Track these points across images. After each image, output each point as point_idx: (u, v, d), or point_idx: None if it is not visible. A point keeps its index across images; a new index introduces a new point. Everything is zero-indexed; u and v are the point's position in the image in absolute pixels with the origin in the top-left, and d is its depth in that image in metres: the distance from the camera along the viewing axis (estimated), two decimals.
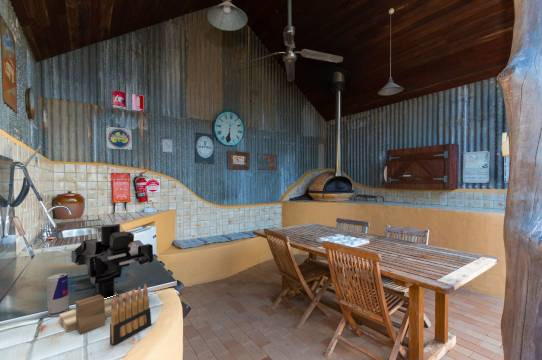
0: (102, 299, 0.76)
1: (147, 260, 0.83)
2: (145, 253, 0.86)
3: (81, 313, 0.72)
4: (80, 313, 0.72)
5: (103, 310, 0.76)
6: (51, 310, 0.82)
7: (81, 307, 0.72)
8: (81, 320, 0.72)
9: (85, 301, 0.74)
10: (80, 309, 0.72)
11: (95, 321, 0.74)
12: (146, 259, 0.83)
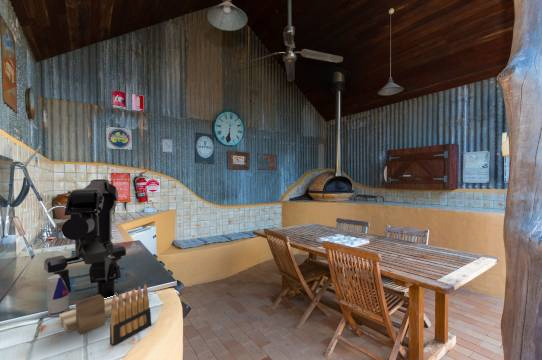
0: (102, 299, 0.76)
1: (106, 279, 0.79)
2: (110, 268, 0.79)
3: (81, 313, 0.72)
4: (80, 313, 0.72)
5: (103, 310, 0.76)
6: (51, 310, 0.82)
7: (81, 307, 0.72)
8: (81, 320, 0.72)
9: (85, 301, 0.74)
10: (80, 309, 0.72)
11: (95, 321, 0.74)
12: (106, 277, 0.79)
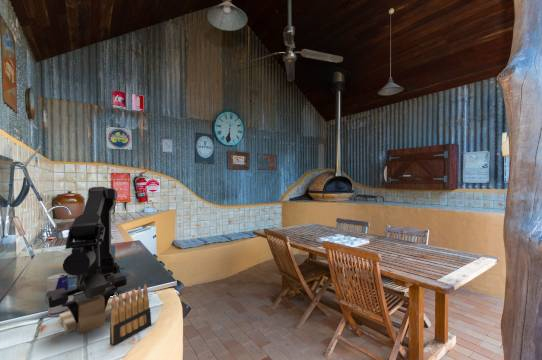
0: (102, 299, 0.76)
1: None
2: (106, 300, 0.78)
3: (81, 313, 0.72)
4: (80, 313, 0.72)
5: (103, 310, 0.76)
6: (51, 310, 0.82)
7: (81, 307, 0.72)
8: (81, 320, 0.72)
9: (85, 301, 0.74)
10: (80, 309, 0.72)
11: (95, 321, 0.74)
12: None
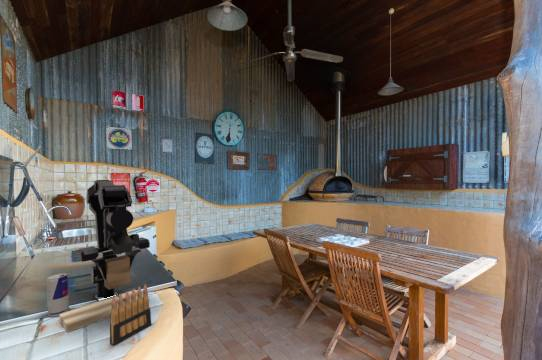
0: (128, 258, 0.81)
1: None
2: (131, 260, 0.83)
3: (109, 269, 0.77)
4: (108, 269, 0.77)
5: (128, 269, 0.81)
6: (51, 310, 0.82)
7: (109, 264, 0.77)
8: (109, 276, 0.77)
9: (112, 259, 0.80)
10: (108, 266, 0.77)
11: (122, 279, 0.80)
12: None
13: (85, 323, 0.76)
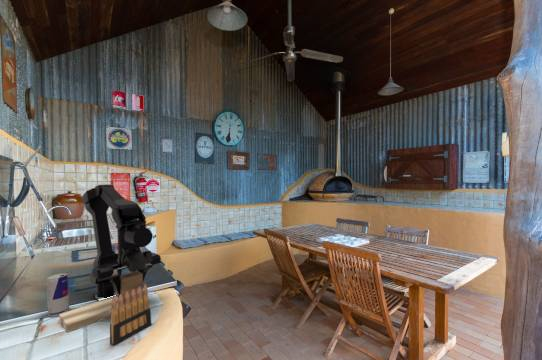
0: (140, 274, 0.84)
1: None
2: (143, 275, 0.86)
3: (123, 286, 0.80)
4: (123, 286, 0.80)
5: (141, 284, 0.84)
6: (51, 310, 0.82)
7: (124, 281, 0.80)
8: (123, 292, 0.80)
9: (126, 275, 0.82)
10: (123, 282, 0.80)
11: None
12: None
13: (85, 323, 0.76)
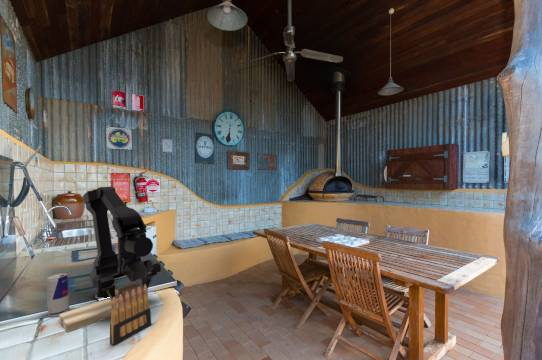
0: (141, 286, 0.84)
1: None
2: (148, 283, 0.87)
3: (124, 298, 0.80)
4: (123, 298, 0.80)
5: (142, 296, 0.84)
6: (51, 310, 0.82)
7: (124, 293, 0.80)
8: (124, 304, 0.80)
9: (127, 288, 0.82)
10: (123, 295, 0.80)
11: None
12: None
13: (85, 323, 0.76)
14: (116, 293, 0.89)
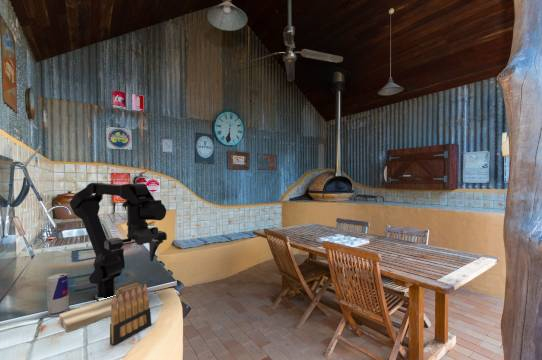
0: (141, 286, 0.84)
1: (150, 259, 0.94)
2: (154, 250, 0.94)
3: (124, 298, 0.80)
4: (123, 298, 0.80)
5: (142, 296, 0.84)
6: (51, 310, 0.82)
7: (124, 293, 0.80)
8: (124, 304, 0.80)
9: (127, 288, 0.82)
10: (123, 295, 0.80)
11: None
12: (150, 257, 0.94)
13: (85, 323, 0.76)
14: (116, 293, 0.89)
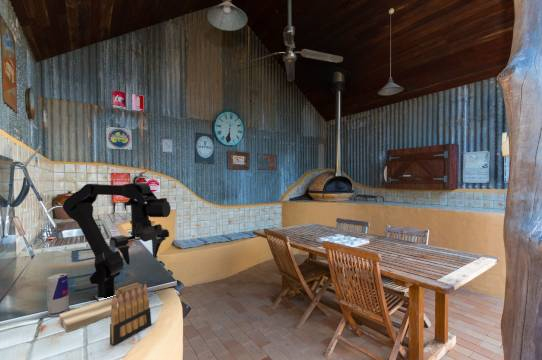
0: (141, 286, 0.84)
1: (153, 256, 0.97)
2: (157, 247, 0.97)
3: (124, 298, 0.80)
4: (123, 298, 0.80)
5: (142, 296, 0.84)
6: (51, 310, 0.82)
7: (124, 293, 0.80)
8: (124, 304, 0.80)
9: (127, 288, 0.82)
10: (123, 295, 0.80)
11: None
12: (154, 254, 0.97)
13: (85, 323, 0.76)
14: (116, 293, 0.89)
